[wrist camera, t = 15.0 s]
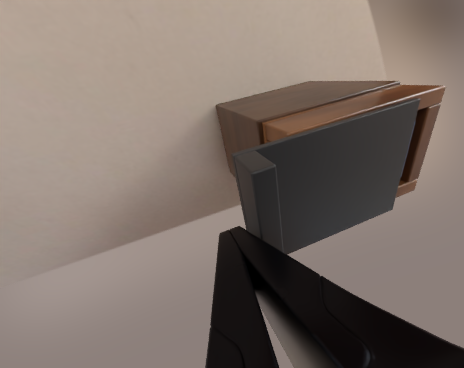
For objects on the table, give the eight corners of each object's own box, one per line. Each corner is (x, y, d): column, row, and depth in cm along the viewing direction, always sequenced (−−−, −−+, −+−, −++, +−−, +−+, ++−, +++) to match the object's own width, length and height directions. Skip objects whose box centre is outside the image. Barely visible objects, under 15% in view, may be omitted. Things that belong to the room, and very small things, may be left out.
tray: (272, 216, 13) (293, 241, 11) (261, 122, 10) (288, 132, 8) (379, 175, 14) (415, 190, 12) (397, 84, 11) (447, 85, 9)
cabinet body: (229, 171, 19) (269, 219, 13) (215, 104, 16) (256, 120, 10) (309, 146, 21) (381, 176, 14) (309, 81, 18) (401, 80, 11)
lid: (253, 263, 10) (270, 296, 8) (230, 153, 7) (251, 173, 6) (387, 206, 12) (422, 225, 10) (413, 98, 9) (468, 101, 7)
